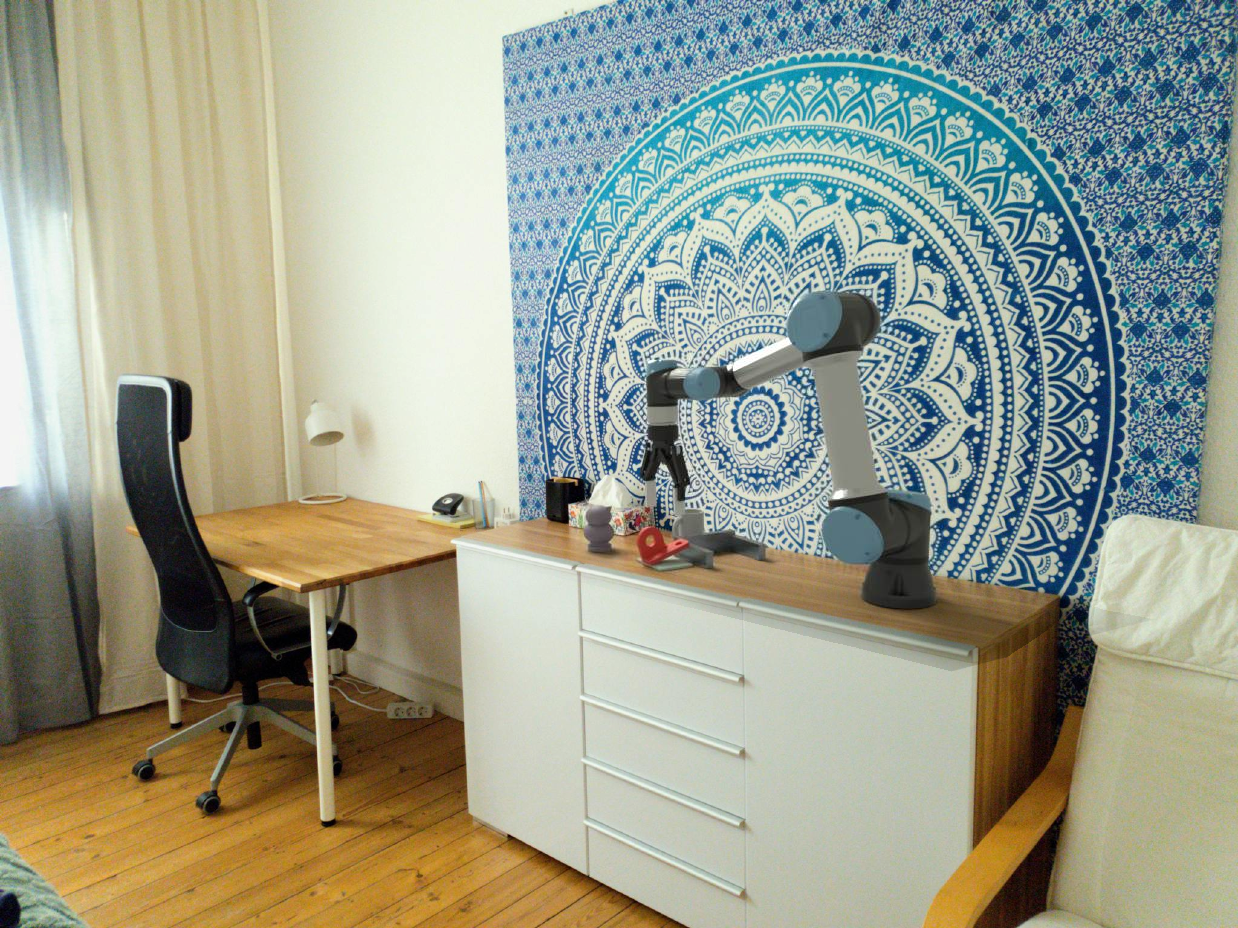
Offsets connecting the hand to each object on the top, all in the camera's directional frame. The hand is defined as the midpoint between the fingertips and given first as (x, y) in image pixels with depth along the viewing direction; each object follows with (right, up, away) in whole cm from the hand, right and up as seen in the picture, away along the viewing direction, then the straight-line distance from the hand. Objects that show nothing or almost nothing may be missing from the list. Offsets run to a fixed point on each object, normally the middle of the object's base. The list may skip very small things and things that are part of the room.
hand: (664, 510), depth 215 cm
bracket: (+1, -11, +2) cm, 11 cm away
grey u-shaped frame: (+13, -12, +9) cm, 20 cm away
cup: (+7, -11, +23) cm, 26 cm away
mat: (0, -13, +2) cm, 13 cm away
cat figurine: (-16, -12, +18) cm, 27 cm away
